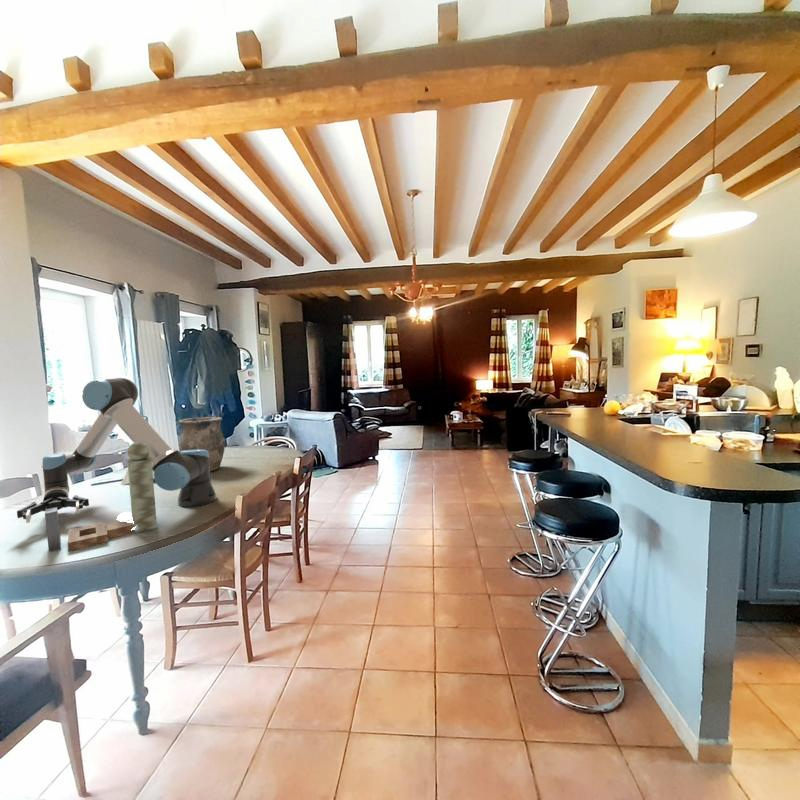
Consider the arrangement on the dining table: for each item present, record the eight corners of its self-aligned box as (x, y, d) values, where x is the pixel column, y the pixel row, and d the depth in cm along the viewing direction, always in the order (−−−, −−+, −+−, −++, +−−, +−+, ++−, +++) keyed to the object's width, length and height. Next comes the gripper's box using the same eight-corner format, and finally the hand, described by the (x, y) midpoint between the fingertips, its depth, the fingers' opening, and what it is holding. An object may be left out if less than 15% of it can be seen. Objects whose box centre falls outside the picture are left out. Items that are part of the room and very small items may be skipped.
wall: (162, 487, 218) (165, 463, 228) (154, 478, 212) (158, 454, 221) (128, 494, 216) (133, 470, 225) (120, 485, 209) (125, 461, 219)
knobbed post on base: (153, 519, 162) (146, 438, 159) (158, 530, 151) (151, 443, 148) (69, 537, 147) (60, 448, 143) (68, 551, 136) (58, 454, 132)
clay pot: (234, 467, 240) (231, 416, 237) (197, 477, 220) (193, 422, 217) (210, 463, 251) (207, 414, 248) (173, 472, 231) (169, 419, 228)
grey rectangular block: (61, 543, 142) (57, 507, 140) (60, 549, 138) (56, 511, 136) (49, 546, 140) (45, 509, 139) (48, 551, 136) (44, 513, 135)
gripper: (96, 500, 170) (97, 516, 154) (13, 515, 155) (6, 533, 138) (94, 483, 170) (96, 496, 153) (12, 495, 154) (3, 512, 138)
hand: (53, 514), depth 146 cm, fingers open, 13 cm apart
